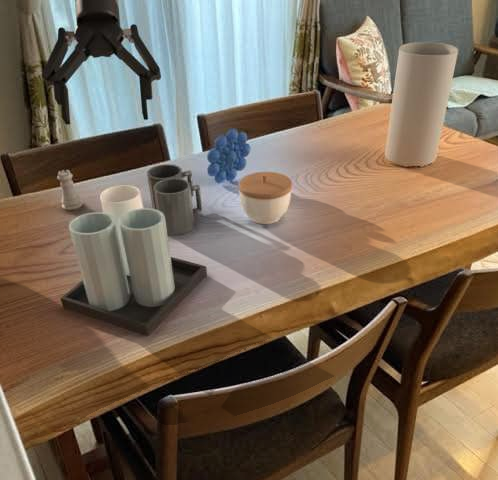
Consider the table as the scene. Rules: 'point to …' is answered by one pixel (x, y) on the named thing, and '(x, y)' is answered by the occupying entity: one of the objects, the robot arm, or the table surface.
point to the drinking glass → (121, 207)
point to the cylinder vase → (419, 102)
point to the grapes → (228, 156)
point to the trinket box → (265, 196)
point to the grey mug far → (165, 177)
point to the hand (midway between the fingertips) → (105, 118)
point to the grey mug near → (177, 204)
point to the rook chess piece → (68, 192)
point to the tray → (132, 312)
